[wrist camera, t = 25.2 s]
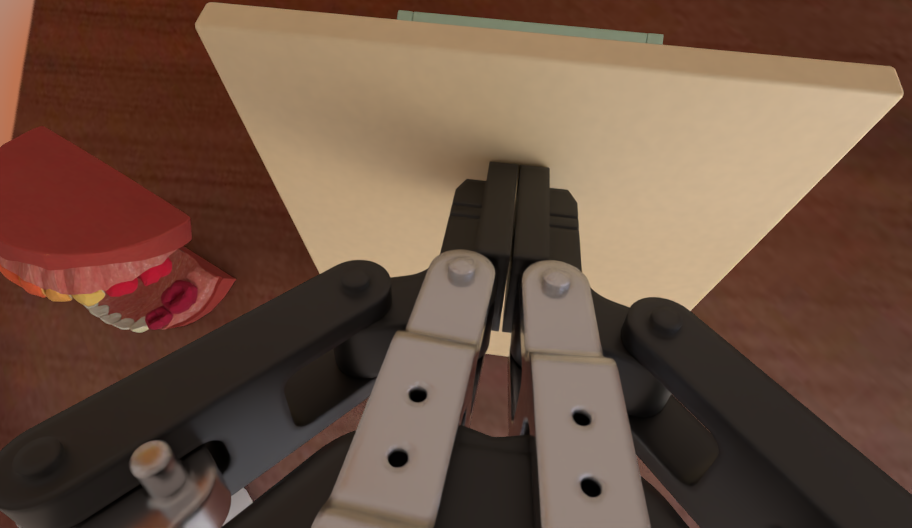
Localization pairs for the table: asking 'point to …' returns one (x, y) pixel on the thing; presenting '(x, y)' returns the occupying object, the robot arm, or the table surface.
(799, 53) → the table surface
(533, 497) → the robot arm
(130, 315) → the anatomical model
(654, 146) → the lid
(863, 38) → the table surface
